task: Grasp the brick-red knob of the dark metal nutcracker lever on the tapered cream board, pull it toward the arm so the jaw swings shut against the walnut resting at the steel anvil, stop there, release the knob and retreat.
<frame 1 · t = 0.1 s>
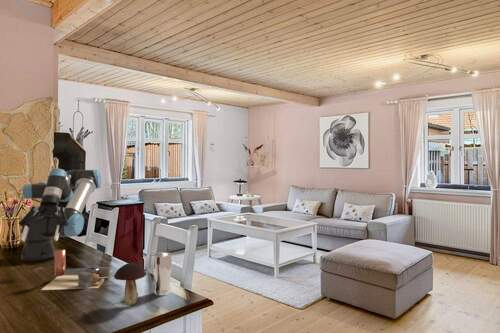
hand: (39, 240, 153), 15 cm above the table, tool tilted 35°, fingers open, 13 cm apart
tapered cream board: (79, 283, 143), on the table
decorative mushroom: (130, 305, 122), on the table
walnut: (93, 283, 139), point 1 cm above the table, touching tapered cream board
beer glass: (162, 293, 133), on the table
lever: (82, 263, 143), point 8 cm above the table, hinge at 0.0°
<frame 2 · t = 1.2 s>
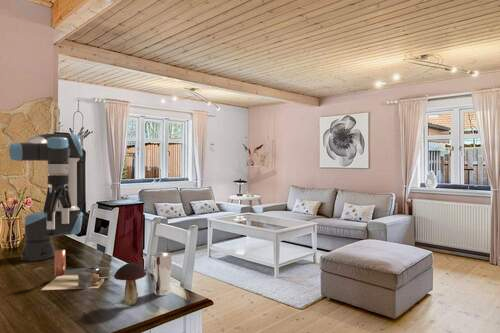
hand: (58, 226, 142), 24 cm above the table, tool pointing down, fingers open, 13 cm apart
nothing on the table moved.
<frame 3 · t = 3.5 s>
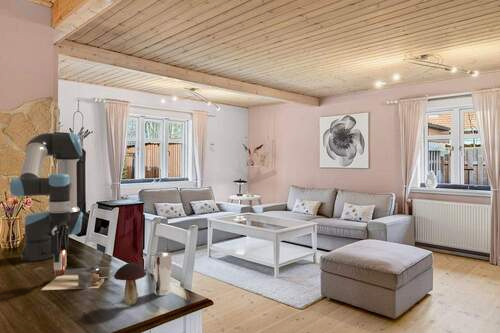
hand: (60, 267, 142), 7 cm above the table, tool pointing down, fingers closed on lever, 4 cm apart
lever: (82, 263, 143), point 8 cm above the table, hinge at 0.0°, touching gripper
everything else where it was.
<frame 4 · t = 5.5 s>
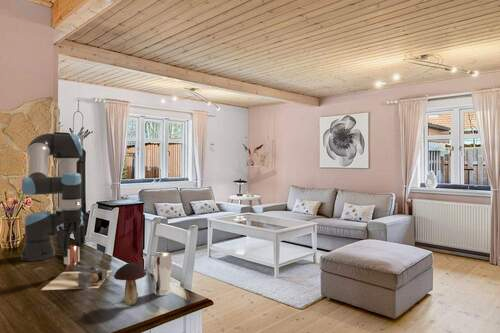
hand: (71, 262, 149), 7 cm above the table, tool pointing down, fingers closed on lever, 4 cm apart
lever: (86, 261, 146), point 8 cm above the table, hinge at 32.4°, touching gripper
everything else where it was.
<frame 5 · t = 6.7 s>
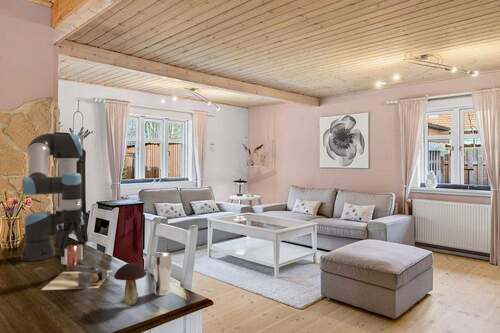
hand: (72, 261, 149), 7 cm above the table, tool pointing down, fingers open, 7 cm apart
lever: (86, 261, 146), point 8 cm above the table, hinge at 32.7°
everything else where it was.
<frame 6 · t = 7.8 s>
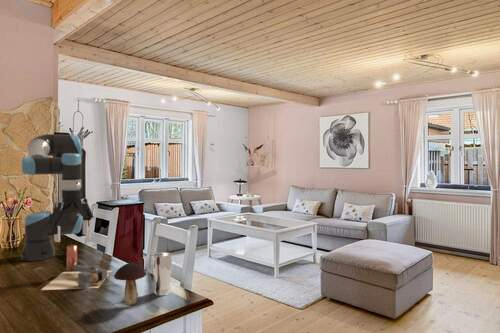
hand: (71, 238, 150), 17 cm above the table, tool pointing down, fingers open, 13 cm apart
nothing on the table moved.
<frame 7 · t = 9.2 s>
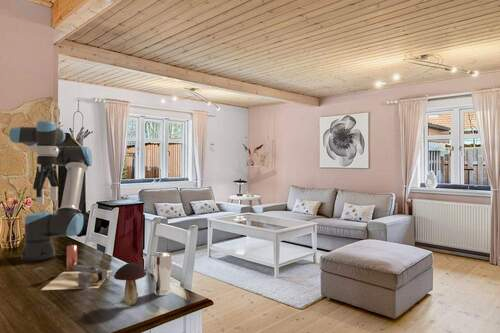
hand: (47, 202, 156), 32 cm above the table, tool pointing down, fingers open, 13 cm apart
nothing on the table moved.
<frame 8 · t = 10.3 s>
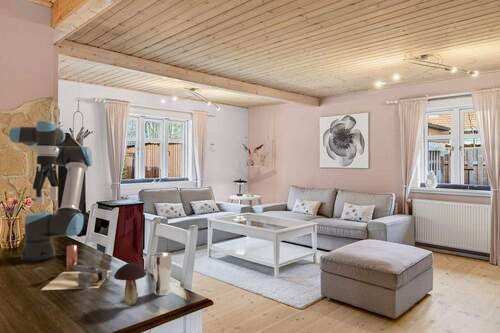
hand: (46, 202, 156), 32 cm above the table, tool pointing down, fingers open, 13 cm apart
nothing on the table moved.
at the end: lever at +33° (first picture: +0°); walnut 0.0 cm from the target spot on the tapered cream board, point 1.5 cm above the tapered cream board's base; the gripper is holding nothing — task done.
